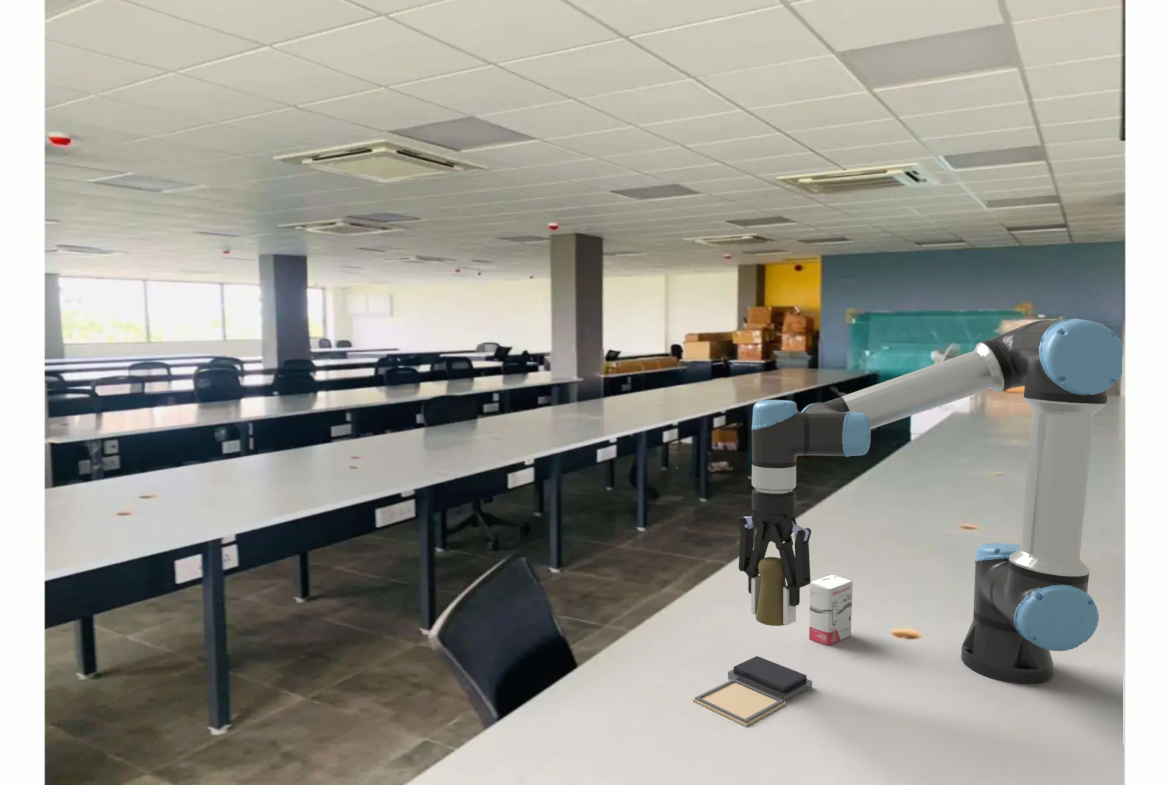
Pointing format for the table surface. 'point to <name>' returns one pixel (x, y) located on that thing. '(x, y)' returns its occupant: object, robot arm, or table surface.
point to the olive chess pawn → (771, 592)
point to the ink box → (830, 609)
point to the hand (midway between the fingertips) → (773, 617)
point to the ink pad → (771, 678)
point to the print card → (739, 702)
